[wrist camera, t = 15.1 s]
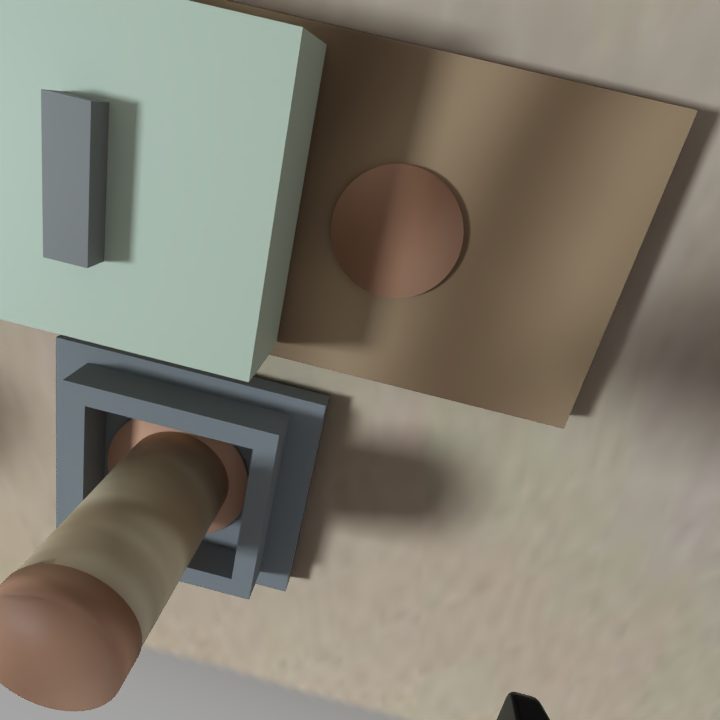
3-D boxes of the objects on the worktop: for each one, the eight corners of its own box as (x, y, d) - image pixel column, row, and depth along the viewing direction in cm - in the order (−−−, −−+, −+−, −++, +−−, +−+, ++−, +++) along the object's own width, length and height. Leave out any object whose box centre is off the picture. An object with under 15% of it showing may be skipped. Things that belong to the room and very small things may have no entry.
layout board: (682, 111, 16) (701, 110, 15) (557, 414, 20) (564, 431, 19) (6, -47, 17) (-24, -59, 15) (16, 278, 21) (-7, 287, 19)
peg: (236, 445, 21) (127, 619, 14) (223, 531, 23) (119, 727, 15) (130, 418, 21) (-36, 574, 14) (124, 505, 23) (-26, 687, 15)
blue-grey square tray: (329, 395, 21) (317, 426, 19) (289, 577, 24) (275, 620, 22) (69, 329, 21) (28, 352, 19) (67, 518, 25) (33, 555, 23)
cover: (326, 44, 15) (294, 21, 12) (276, 344, 19) (239, 394, 15) (-25, -38, 16) (-157, -85, 12) (-9, 273, 19) (-108, 305, 16)
